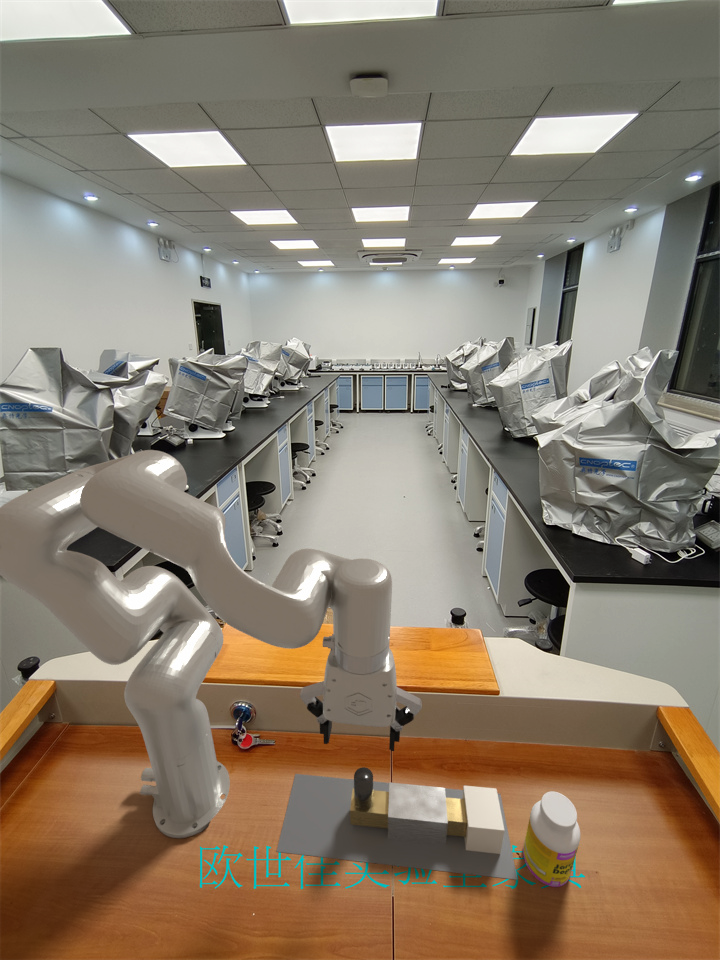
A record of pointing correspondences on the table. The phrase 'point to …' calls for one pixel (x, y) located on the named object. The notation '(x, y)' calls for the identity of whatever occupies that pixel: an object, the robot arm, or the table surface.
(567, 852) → the supplement bottle
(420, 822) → the sleeve
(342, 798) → the base board
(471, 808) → the cream rectangular block
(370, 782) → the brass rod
